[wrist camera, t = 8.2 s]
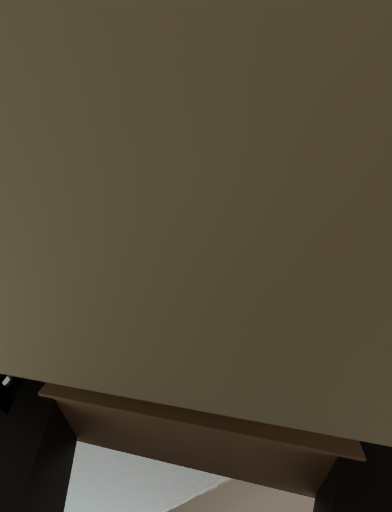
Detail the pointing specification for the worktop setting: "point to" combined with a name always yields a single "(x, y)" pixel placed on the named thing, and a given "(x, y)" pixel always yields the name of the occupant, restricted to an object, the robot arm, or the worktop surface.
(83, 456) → the worktop surface
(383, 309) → the cabinet
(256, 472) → the brown wooden block
